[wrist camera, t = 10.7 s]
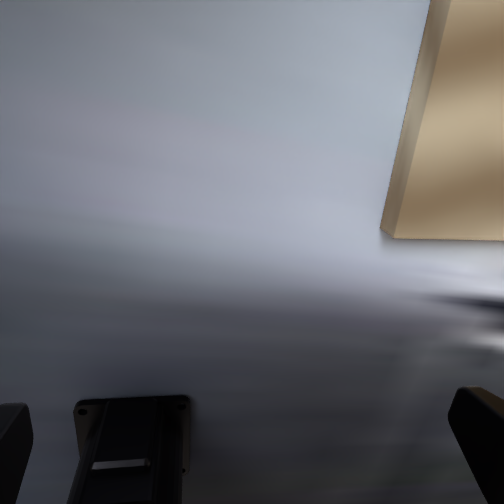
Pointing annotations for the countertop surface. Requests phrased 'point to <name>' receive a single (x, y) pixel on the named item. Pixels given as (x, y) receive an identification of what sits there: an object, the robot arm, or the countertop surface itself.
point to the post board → (453, 130)
